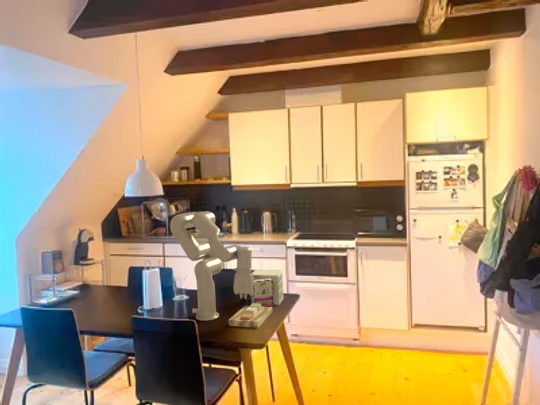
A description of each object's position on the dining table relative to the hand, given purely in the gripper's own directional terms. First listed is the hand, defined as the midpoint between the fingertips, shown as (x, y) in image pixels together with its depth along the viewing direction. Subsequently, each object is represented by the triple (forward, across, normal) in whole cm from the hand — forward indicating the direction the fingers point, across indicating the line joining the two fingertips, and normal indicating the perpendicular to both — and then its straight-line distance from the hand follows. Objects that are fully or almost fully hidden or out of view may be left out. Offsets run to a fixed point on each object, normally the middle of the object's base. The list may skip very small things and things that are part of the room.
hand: (244, 305), depth 231 cm
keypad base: (+9, +2, +7) cm, 12 cm away
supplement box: (+10, +1, +38) cm, 39 cm away
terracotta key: (+8, +2, 0) cm, 8 cm away
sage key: (+7, +2, +14) cm, 15 cm away
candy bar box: (+10, +2, +26) cm, 28 cm away
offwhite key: (+7, +2, +7) cm, 10 cm away
